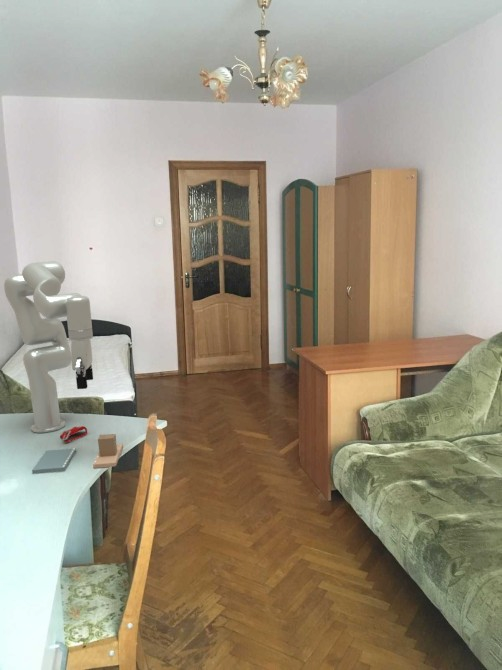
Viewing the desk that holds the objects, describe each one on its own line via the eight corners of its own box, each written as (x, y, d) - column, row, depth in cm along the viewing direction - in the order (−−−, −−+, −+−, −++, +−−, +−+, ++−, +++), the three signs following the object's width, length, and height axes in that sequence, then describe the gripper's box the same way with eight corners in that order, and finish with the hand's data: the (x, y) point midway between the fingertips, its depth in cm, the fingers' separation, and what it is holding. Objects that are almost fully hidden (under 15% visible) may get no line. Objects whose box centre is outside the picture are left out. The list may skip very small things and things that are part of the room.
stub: (102, 448, 190) (100, 428, 188) (123, 447, 190) (121, 427, 189) (93, 468, 174) (90, 446, 173) (115, 466, 174) (113, 444, 173)
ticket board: (46, 453, 188) (46, 450, 188) (76, 451, 189) (76, 447, 189) (32, 473, 173) (31, 469, 172) (65, 470, 173) (64, 466, 173)
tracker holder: (56, 433, 206) (82, 421, 210) (61, 443, 206) (86, 432, 210) (59, 435, 195) (86, 423, 199) (64, 447, 195) (91, 434, 199)
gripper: (74, 329, 189) (79, 377, 192) (62, 340, 172) (67, 392, 175) (97, 328, 189) (101, 376, 193) (87, 339, 172) (91, 391, 176)
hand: (85, 384), depth 184 cm, fingers open, 9 cm apart
